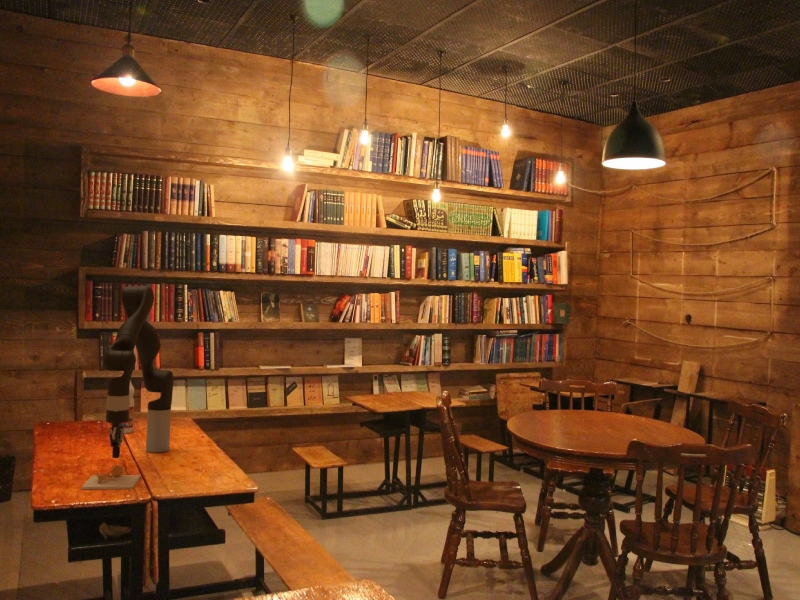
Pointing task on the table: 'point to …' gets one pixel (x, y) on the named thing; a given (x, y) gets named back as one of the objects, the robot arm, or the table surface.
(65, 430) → the table surface
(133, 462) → the table surface
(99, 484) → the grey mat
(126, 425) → the fruit juice
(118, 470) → the figurine
